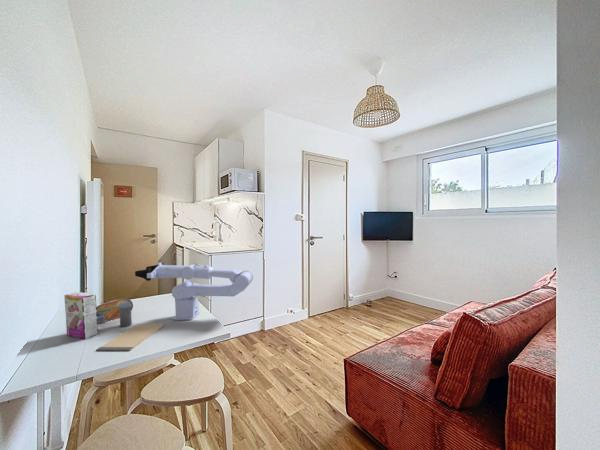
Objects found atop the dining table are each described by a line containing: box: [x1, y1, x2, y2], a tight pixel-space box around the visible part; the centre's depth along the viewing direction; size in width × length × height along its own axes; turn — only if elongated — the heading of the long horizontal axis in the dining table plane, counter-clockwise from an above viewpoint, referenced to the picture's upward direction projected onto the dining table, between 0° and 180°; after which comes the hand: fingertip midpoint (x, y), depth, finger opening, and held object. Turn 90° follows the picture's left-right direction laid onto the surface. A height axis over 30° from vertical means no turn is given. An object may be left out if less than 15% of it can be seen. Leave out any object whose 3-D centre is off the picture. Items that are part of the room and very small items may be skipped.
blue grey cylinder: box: [119, 302, 133, 328], centre depth 107 cm, size 4×4×10 cm
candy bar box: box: [63, 291, 99, 340], centre depth 98 cm, size 11×5×16 cm, turn 71°
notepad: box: [96, 323, 166, 352], centre depth 97 cm, size 12×21×1 cm, turn 177°
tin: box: [96, 297, 134, 324], centre depth 115 cm, size 15×3×8 cm, turn 148°
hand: (141, 271), depth 115 cm, fingers open, 7 cm apart
